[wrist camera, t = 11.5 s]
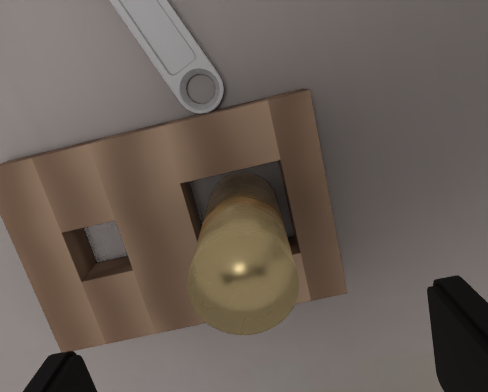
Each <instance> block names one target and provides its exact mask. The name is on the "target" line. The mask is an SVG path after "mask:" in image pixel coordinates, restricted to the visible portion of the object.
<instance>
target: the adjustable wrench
mask: <svg viewBox="0 0 488 392" xmlns="http://www.w3.org/2000/svg"><path fill="white" fill-rule="evenodd" d="M110 2H111V3H112V5H113V6H114V8H115V9H116V11H117V12H118V13H119V15H120V16H121V18H122V19H123V21H124V22H125V24H126V25H127V26H128V28H129V29H130V31H131V32H132V34H133V35H134V37H135V38H136V39H137V41H138V42H139V44H140V45H141V47H142V48H143V50H144V51H145V52H146V54H147V55H148V57H149V58H150V60H151V61H152V63H153V64H154V65H155V67H156V68H157V70H158V71H159V73H160V74H161V76H162V77H163V78H164V80H165V81H166V83H167V84H168V86H169V87H170V89H171V90H172V91H173V93H174V94H175V96H176V97H177V99H178V100H179V102H180V103H181V104H182V105H183V106H184V107H185V108H186V109H187V110H189V111H191V112H193V113H199V114H201V113H208V112H210V111H212V110H214V109H215V108H216V107H217V106H218V105H219V104H220V102H221V100H222V98H223V94H224V84H223V81H222V78H221V76H220V75H219V73H218V72H217V70H216V69H215V67H214V66H213V65H212V63H211V62H210V60H209V59H208V57H207V56H206V54H205V53H204V52H203V50H202V49H201V47H200V46H199V44H198V43H197V42H196V40H195V39H194V37H193V36H192V34H191V33H190V31H189V30H188V29H187V27H186V26H185V24H184V23H183V21H182V20H181V18H180V17H179V16H178V14H177V13H176V11H175V10H174V8H173V7H172V6H171V4H170V3H169V1H168V0H110ZM196 74H205V75H207V76H209V77H210V78H211V79H212V80H213V82H214V84H215V88H216V90H215V95H214V97H213V99H212V100H211V101H210V102H208V103H206V104H197V103H195V102H193V101H192V100H191V99H190V98H189V96H188V94H187V91H186V86H187V83H188V80H189V79H190V78H191V77H192V76H194V75H196Z"/></svg>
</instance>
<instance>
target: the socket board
mask: <svg viewBox="0 0 488 392" xmlns="http://www.w3.org/2000/svg"><path fill="white" fill-rule="evenodd" d="M278 160H279V165H280V170H281V174H282V179H283V183H284V188H285V193H286V197H287V202H288V206H289V211H290V216H291V220H292V225H293V229H294V234H295V237H290V238H288V242H289V245H290V249H291V252H292V256H293V259H294V263H295V266H296V270H297V273H298V278H299V292H298V297H297V300H296V303H295V304H298V303H303V302H308V301H312V300H317V299H322V298H327V297H331V296H336V295H341V294H346V293H347V289H346V283H345V278H344V272H343V267H342V262H341V256H340V251H339V245H338V240H337V234H336V229H335V223H334V218H333V213H332V207H331V202H330V196H329V191H328V185H327V180H326V175H325V169H324V164H323V158H322V153H321V147H320V142H319V136H318V131H317V126H316V120H315V115H314V109H313V104H312V98H311V93H310V90H308V89H300V90H296V91H291V92H287V93H283V94H279V95H275V96H271V97H267V98H263V99H259V100H255V101H251V102H247V103H243V104H239V105H234V106H230V107H226V108H222V109H218V110H214V111H210V112H208V113H202V114H198V115H194V116H190V117H186V118H182V119H178V120H173V121H169V122H165V123H161V124H157V125H153V126H149V127H145V128H141V129H137V130H133V131H129V132H125V133H121V134H116V135H112V136H108V137H104V138H100V139H96V140H92V141H88V142H84V143H80V144H76V145H72V146H68V147H64V148H59V149H55V150H51V151H47V152H43V153H39V154H35V155H31V156H27V157H23V158H19V159H15V160H11V161H7V162H4V163H1V164H0V215H1V217H2V219H3V222H4V224H5V226H6V228H7V231H8V233H9V235H10V237H11V240H12V242H13V244H14V246H15V249H16V251H17V253H18V255H19V258H20V260H21V262H22V264H23V267H24V269H25V271H26V273H27V276H28V278H29V280H30V282H31V285H32V287H33V289H34V292H35V294H36V296H37V298H38V301H39V303H40V305H41V307H42V310H43V312H44V314H45V316H46V319H47V321H48V323H49V325H50V328H51V330H52V332H53V334H54V337H55V339H56V341H57V343H58V346H59V348H60V350H61V352H67V351H75V350H80V349H84V348H89V347H94V346H99V345H103V344H108V343H113V342H118V341H122V340H127V339H132V338H137V337H141V336H146V335H151V334H156V333H160V332H165V331H170V330H175V329H179V328H184V327H189V326H194V325H198V324H203V323H206V322H205V321H204V320H203V319H202V318H201V317H200V316H199V315H198V314H197V313H196V311H195V310H194V308H193V306H192V305H191V302H190V299H189V296H188V290H187V279H188V274H189V270H190V267H191V263H192V260H193V256H194V252H195V249H196V245H197V242H198V238H199V235H200V231H201V228H202V226H201V222H200V219H199V215H198V212H197V208H196V205H195V202H194V198H193V195H192V191H191V188H190V184H189V181H193V180H197V179H201V178H206V177H210V176H214V175H218V174H223V173H227V172H231V171H236V170H240V169H244V168H248V167H253V166H257V165H261V164H265V163H270V162H274V161H278ZM110 221H116V223H117V226H118V229H119V232H120V235H121V238H122V240H123V243H124V246H125V249H126V252H127V254H128V256H125V257H121V258H116V259H112V260H107V261H103V262H99V263H96V260H95V258H94V255H93V252H92V250H91V247H90V245H89V242H88V239H87V237H86V234H85V231H84V229H83V228H84V227H89V226H93V225H97V224H102V223H106V222H110Z"/></svg>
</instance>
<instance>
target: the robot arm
mask: <svg viewBox="0 0 488 392" xmlns="http://www.w3.org/2000/svg"><path fill="white" fill-rule="evenodd" d="M427 294H428V303H429V312H430V321H431V330H432V339H433V347H434V356H435V365H436V373H437V377H438V380H439V382H440V385H441V387H442V389H443V390H444V392H488V303H487V302H486V301H485V300H484V299H483V298H482V297H481V296H480V295H479V294H478V293H477V292H476V291H475V290H474V289H473V288H472V287H471V286H470V285H469V284H468V283H467V282H466V281H465V280H463V279H462V278H461V277H460V276H457V275H456V276H451V277H446V278H441V279H436V280H434V283H433V286H431V287H428V289H427ZM23 392H97V390H96V388H95V386H94V383H93V381H92V379H91V376H90V374H89V372H88V370H87V367H86V365H85V363H84V360H83V358H82V357H81V356H80V355H76V353H75V352H73V351H67V352H62V353H57V354H52V355H50V356H49V357H48V358H47V359H46V360H45V362H44V363H43V364H42V366H41V367H40V368H39V370H38V371H37V373H36V374H35V375H34V377H33V378H32V380H31V381H30V382H29V384H28V385H27V387H26V388H25V389H24V391H23Z"/></svg>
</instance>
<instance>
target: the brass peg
mask: <svg viewBox="0 0 488 392" xmlns="http://www.w3.org/2000/svg"><path fill="white" fill-rule="evenodd" d="M187 290H188V296H189V299H190V302H191V305H192V306H193V308H194V310H195V311H196V313H197V314H198V315H199V316H200V317H201V318H202V319H203V320H204V321H205V322H206V323H207V324H209V325H210V326H212V327H214V328H215V329H218V330H220V331H222V332H226V333H229V334H235V335H251V334H257V333H261V332H264V331H266V330H269V329H271V328H273V327H274V326H276V325H277V324H279V323H280V322H281V321H282V320H284V319H285V318H286V317H287V315H288V314H289V313H290V312H291V310H292V308H293V307H294V305H295V303H296V300H297V297H298V292H299V278H298V273H297V270H296V266H295V263H294V259H293V256H292V252H291V249H290V245H289V242H288V238H287V235H286V231H285V228H284V224H283V221H282V217H281V214H280V210H279V207H278V203H277V200H276V196H275V193H274V191H273V189H272V188H271V186H270V185H269V184H268V183H267V182H266V181H265V180H264V179H263V178H261V177H259V176H257V175H255V174H251V173H244V172H243V173H234V174H231V175H229V176H227V177H225V178H223V179H222V180H221V181H219V182H218V184H217V185H216V186H215V187H214V189H213V191H212V193H211V196H210V199H209V203H208V206H207V210H206V213H205V217H204V220H203V224H202V228H201V231H200V235H199V238H198V242H197V245H196V249H195V252H194V256H193V260H192V263H191V267H190V270H189V274H188V279H187Z"/></svg>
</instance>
